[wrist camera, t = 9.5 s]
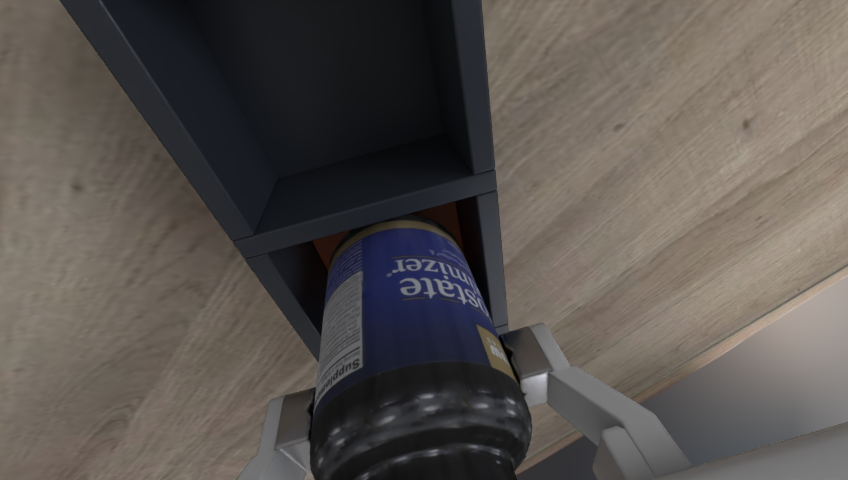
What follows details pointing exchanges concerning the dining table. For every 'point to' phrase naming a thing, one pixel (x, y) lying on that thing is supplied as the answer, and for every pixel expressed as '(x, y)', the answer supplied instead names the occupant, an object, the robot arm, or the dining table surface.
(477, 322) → the pill bottle
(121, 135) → the dining table surface
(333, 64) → the black divided organizer
